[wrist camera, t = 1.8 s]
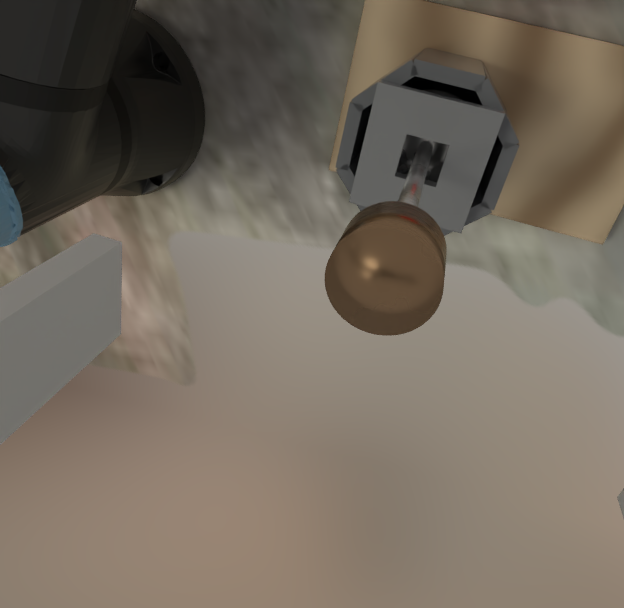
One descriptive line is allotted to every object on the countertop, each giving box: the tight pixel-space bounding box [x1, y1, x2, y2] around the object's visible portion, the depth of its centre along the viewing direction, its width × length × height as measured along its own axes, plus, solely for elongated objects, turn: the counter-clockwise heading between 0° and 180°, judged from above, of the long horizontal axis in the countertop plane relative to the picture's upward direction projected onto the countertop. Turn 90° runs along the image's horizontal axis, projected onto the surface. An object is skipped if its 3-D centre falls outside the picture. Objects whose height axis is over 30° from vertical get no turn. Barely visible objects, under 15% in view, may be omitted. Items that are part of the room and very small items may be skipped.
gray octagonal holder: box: [336, 47, 519, 235], centre depth 35 cm, size 10×12×12 cm
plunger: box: [325, 89, 462, 335], centre depth 25 cm, size 7×7×20 cm
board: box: [329, 0, 624, 245], centre depth 39 cm, size 22×13×1 cm, turn 78°
